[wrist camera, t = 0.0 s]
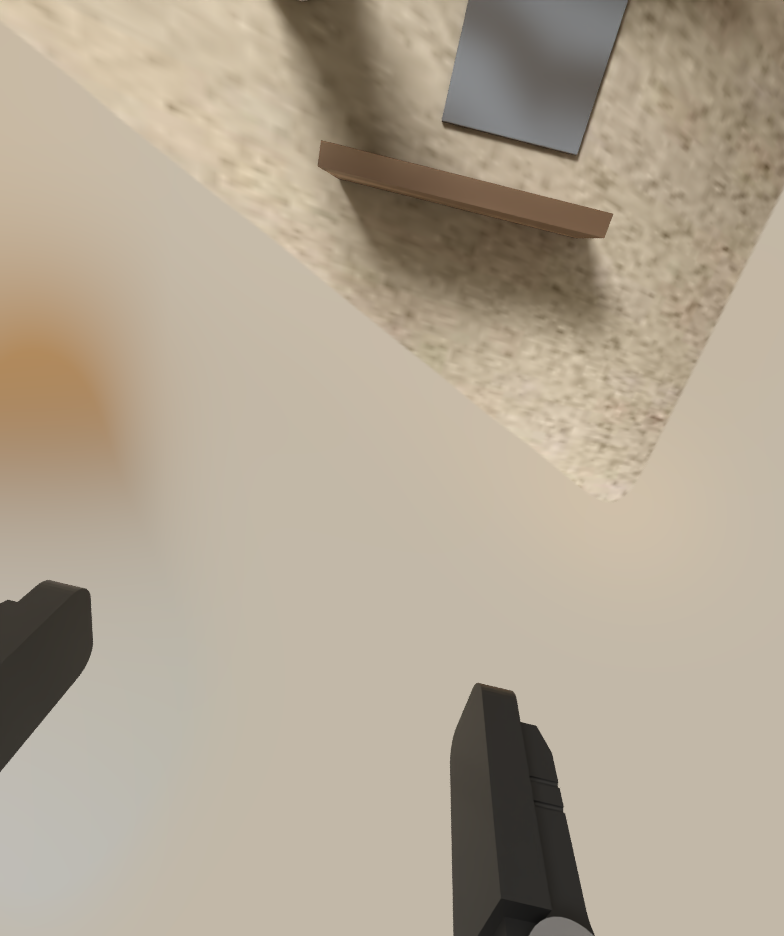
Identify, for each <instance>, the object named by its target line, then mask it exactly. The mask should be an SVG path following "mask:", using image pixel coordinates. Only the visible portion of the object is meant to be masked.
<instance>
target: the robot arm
mask: <svg viewBox="0 0 784 936" xmlns="http://www.w3.org/2000/svg"><path fill="white" fill-rule="evenodd" d="M92 647H93V634H92V616H91V598H90V593H89V591H88V590H87V589H85V588H80V587H76V586H72V585H68V584H63V583H59V582H55V581H51V580H46V581H43V582H41V583H40V584H39V585H37V586H36V587H35V588H33V589H32V590H31V591H30V592H29V593H28V594H27V595H25V596H24V597H23V598H22V599H21V600H20V601H18V602H15V601H11V600H7V601H4V602H2V603H0V772H1V770H2V769H3V768H4V767H5V765H6V764H7V763H8V762H9V761H10V759H11V758H12V757H13V756H14V755H15V753H16V752H17V751H18V750H19V748H20V747H21V746H22V745H23V744H24V742H25V741H26V740H27V739H28V738H29V736H30V735H31V734H32V733H33V731H34V730H35V729H36V728H37V727H38V725H39V724H40V723H41V722H42V721H43V719H44V718H45V717H46V716H47V714H48V713H49V712H50V711H51V710H52V708H53V707H54V706H55V705H56V704H57V702H58V701H59V700H60V699H61V697H62V696H63V695H64V694H65V693H66V691H67V690H68V689H69V688H70V686H71V685H72V684H73V683H74V682H75V680H76V679H77V678H78V677H79V676H80V674H81V673H82V671H83V669H84V668H85V666H86V664H87V662H88V660H89V658H90V655H91V651H92ZM450 779H451V780H450V781H451V826H452V827H451V830H452V831H451V833H452V879H453V880H452V882H453V932H454V936H595V935H594V933H593V930H592V928H591V925H590V922H589V919H588V915H587V912H586V908H585V903H584V898H583V894H582V889H581V884H580V880H579V875H578V871H577V866H576V861H575V857H574V853H573V848H572V843H571V838H570V834H569V830H568V825H567V820H566V816H565V813H563V802H562V797H561V793H560V788H558V779H557V775H556V770H555V765H554V761H553V756H552V753H551V751H550V749H549V747H548V745H547V744H546V742H545V740H544V738H543V737H542V735H541V733H540V731H539V730H538V728H537V726H535V725H531V724H526V723H522V722H520V717H519V711H518V705H517V699H516V696H515V694H514V692H513V691H510V690H506V689H502V688H497V687H493V686H489V685H485V684H481V683H476V684H475V685H474V687H473V689H472V692H471V694H470V696H469V699H468V701H467V704H466V706H465V708H464V710H463V713H462V716H461V718H460V720H459V723H458V725H457V727H456V730H455V733H454V736H453V741H452V747H451V755H450Z"/></svg>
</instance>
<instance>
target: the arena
mask: <svg viewBox="0 0 784 936" xmlns="http://www.w3.org/2000/svg"><path fill="white" fill-rule="evenodd" d="M627 2H628V0H469V1H468V5H467V10H466V14H465V19H464V23H463V28H462V32H461V37H460V41H459V46H458V50H457V54H456V59H455V63H454V68H453V72H452V77H451V81H450V86H449V90H448V95H447V99H446V104H445V108H444V113H443V117H442V121H443V122H447V123H451V124H454V125H458V126H462V127H466V128H470V129H474V130H478V131H482V132H486V133H490V134H494V135H498V136H502V137H506V138H510V139H514V140H518V141H522V142H525V143H529V144H533V145H537V146H541V147H545V148H549V149H553V150H557V151H561V152H565V153H569V154H573V155H577V153H578V150H579V147H580V144H581V141H582V138H583V135H584V132H585V129H586V126H587V123H588V120H589V117H590V114H591V111H592V108H593V105H594V102H595V99H596V96H597V93H598V90H599V87H600V84H601V81H602V78H603V75H604V71H605V68H606V65H607V62H608V59H609V56H610V53H611V50H612V47H613V44H614V41H615V38H616V35H617V32H618V29H619V26H620V23H621V20H622V17H623V14H624V11H625V8H626V5H627ZM318 167H320V168H322V169H323V170H325V171H327V172H328V173H330V174H332V175H333V176H335V177H337V178H339V179H343V180H347V181H351V182H355V183H358V184H362V185H366V186H370V187H374V188H378V189H382V190H386V191H390V192H394V193H398V194H402V195H406V196H410V197H414V198H418V199H422V200H426V201H430V202H434V203H438V204H442V205H446V206H450V207H454V208H458V209H462V210H466V211H470V212H474V213H478V214H482V215H486V216H490V217H494V218H498V219H502V220H506V221H510V222H514V223H518V224H522V225H526V226H530V227H534V228H538V229H542V230H546V231H550V232H554V233H558V234H562V235H566V236H570V237H574V238H604V237H605V235H606V232H607V229H608V227H609V224H610V221H611V219H612V216H613V214H612V213H608V212H604V211H600V210H596V209H592V208H588V207H584V206H580V205H576V204H572V203H568V202H564V201H560V200H556V199H552V198H548V197H544V196H540V195H536V194H532V193H529V192H525V191H521V190H517V189H513V188H509V187H505V186H501V185H497V184H493V183H489V182H485V181H481V180H477V179H473V178H469V177H465V176H461V175H457V174H453V173H449V172H445V171H441V170H437V169H433V168H429V167H425V166H421V165H417V164H413V163H409V162H405V161H401V160H398V159H394V158H390V157H386V156H382V155H378V154H374V153H370V152H366V151H362V150H358V149H354V148H350V147H346V146H342V145H338V144H334V143H330V142H326V141H322V140H321V145H320V152H319V160H318Z"/></svg>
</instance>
